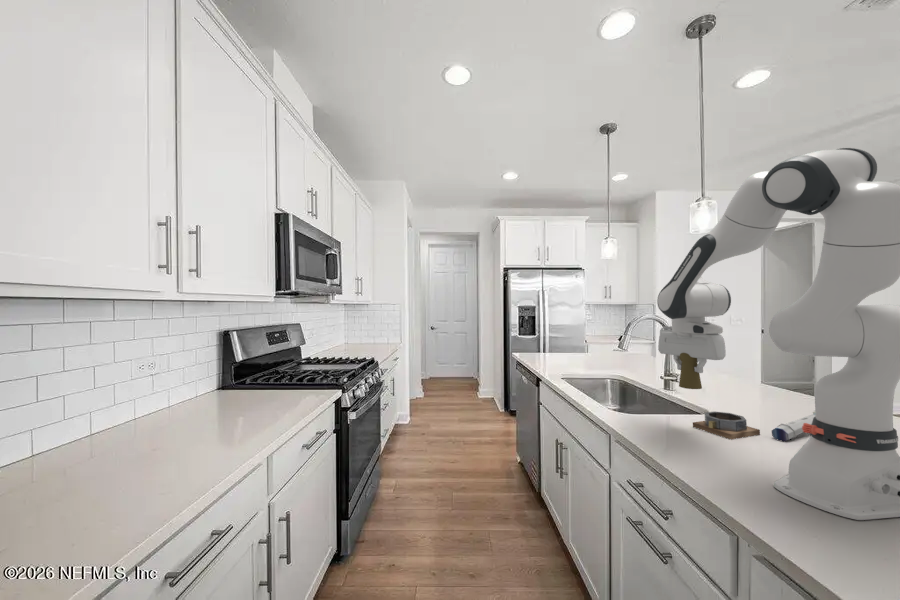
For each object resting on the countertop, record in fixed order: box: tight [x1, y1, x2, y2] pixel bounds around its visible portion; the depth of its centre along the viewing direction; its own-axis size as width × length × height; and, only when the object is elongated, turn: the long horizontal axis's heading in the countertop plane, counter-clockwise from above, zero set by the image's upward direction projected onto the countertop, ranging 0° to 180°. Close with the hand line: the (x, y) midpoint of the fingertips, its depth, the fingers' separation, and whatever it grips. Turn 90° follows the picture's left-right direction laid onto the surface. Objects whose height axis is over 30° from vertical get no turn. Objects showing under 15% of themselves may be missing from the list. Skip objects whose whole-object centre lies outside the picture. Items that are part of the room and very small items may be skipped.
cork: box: [678, 353, 703, 390], centre depth 114 cm, size 6×6×11 cm
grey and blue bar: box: [771, 410, 815, 442], centre depth 110 cm, size 5×7×25 cm
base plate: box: [692, 420, 761, 440], centre depth 115 cm, size 12×12×2 cm
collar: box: [704, 411, 748, 432], centre depth 115 cm, size 11×10×3 cm
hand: (689, 371), depth 114 cm, fingers closed on cork, 4 cm apart
